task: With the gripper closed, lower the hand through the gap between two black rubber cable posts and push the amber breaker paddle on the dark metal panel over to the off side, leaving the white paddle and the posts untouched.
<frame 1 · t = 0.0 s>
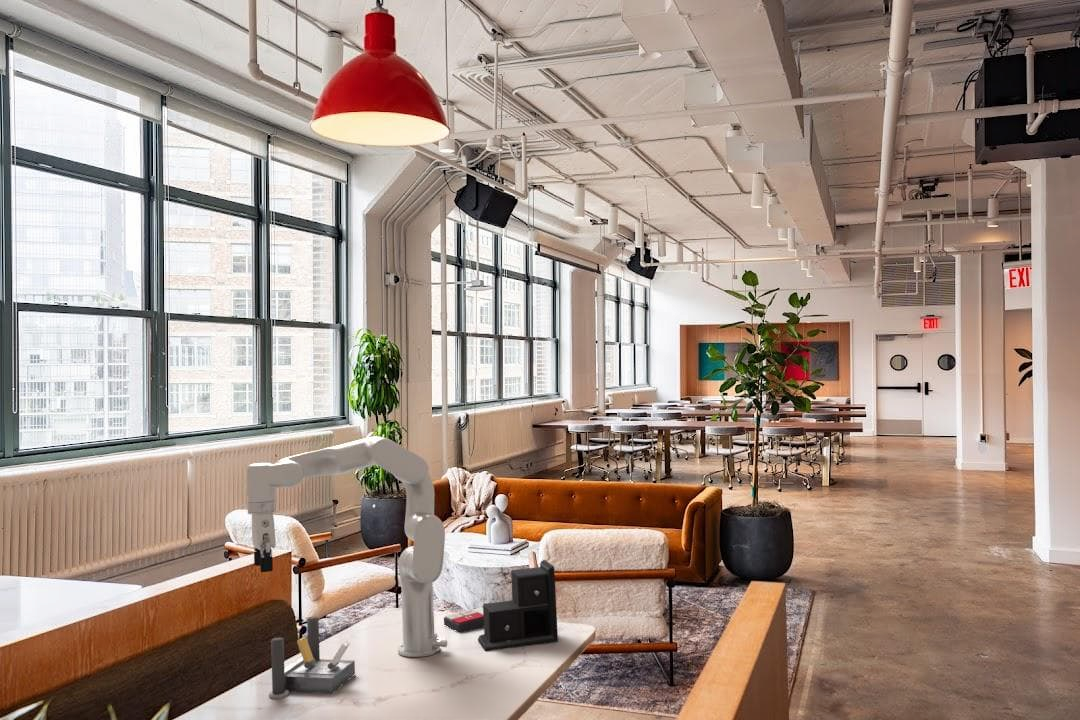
hand: (263, 568, 238), 31 cm above the table, tool pointing down, fingers open, 9 cm apart
paddle amber: (306, 652, 235), point 8 cm above the table, hinge at 20.0°
breaker panel: (317, 682, 234), on the table
black drawer organizer: (517, 642, 265), on the table
post far: (314, 669, 245), on the table
post near: (278, 695, 226), on the table
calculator: (471, 626, 285), on the table
paddle white: (339, 654, 233), point 8 cm above the table, hinge at -35.0°
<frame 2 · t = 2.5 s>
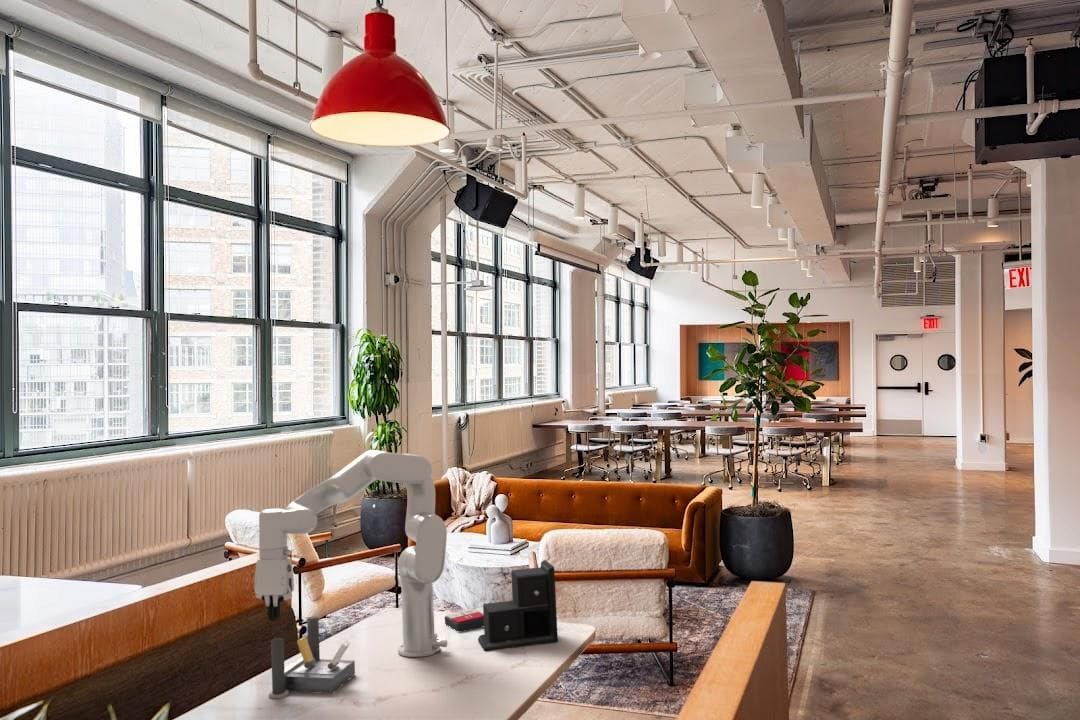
hand: (273, 619, 237), 17 cm above the table, tool pointing down, fingers closed
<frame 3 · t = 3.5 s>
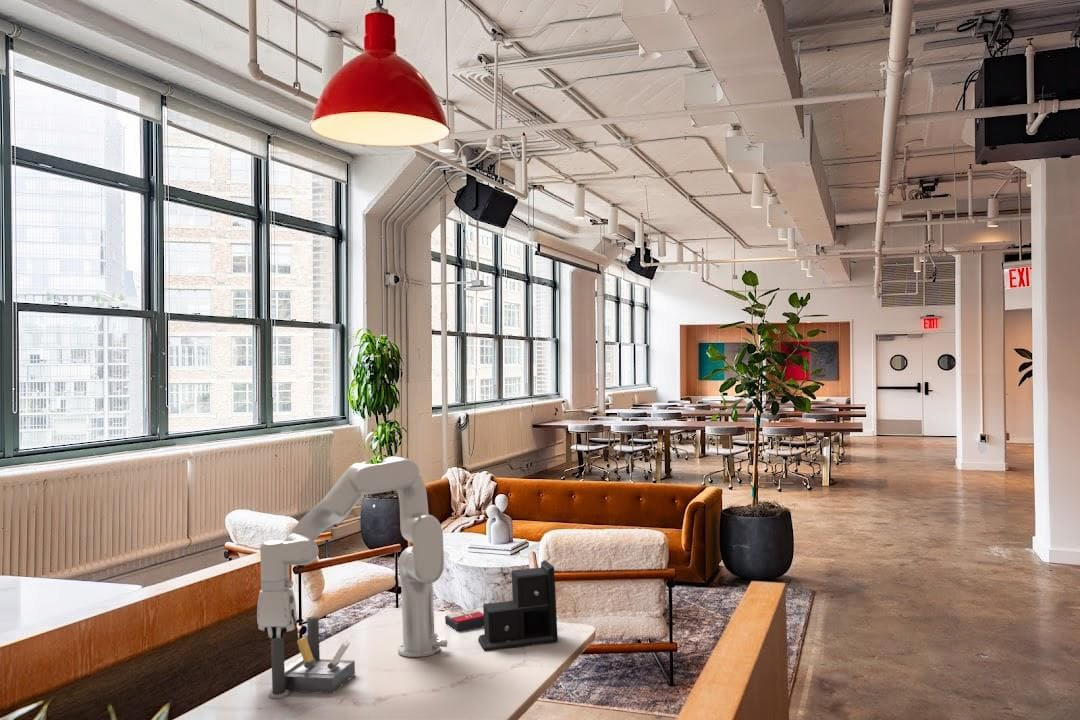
hand: (277, 650, 237), 8 cm above the table, tool pointing down, fingers closed
nothing on the table moved.
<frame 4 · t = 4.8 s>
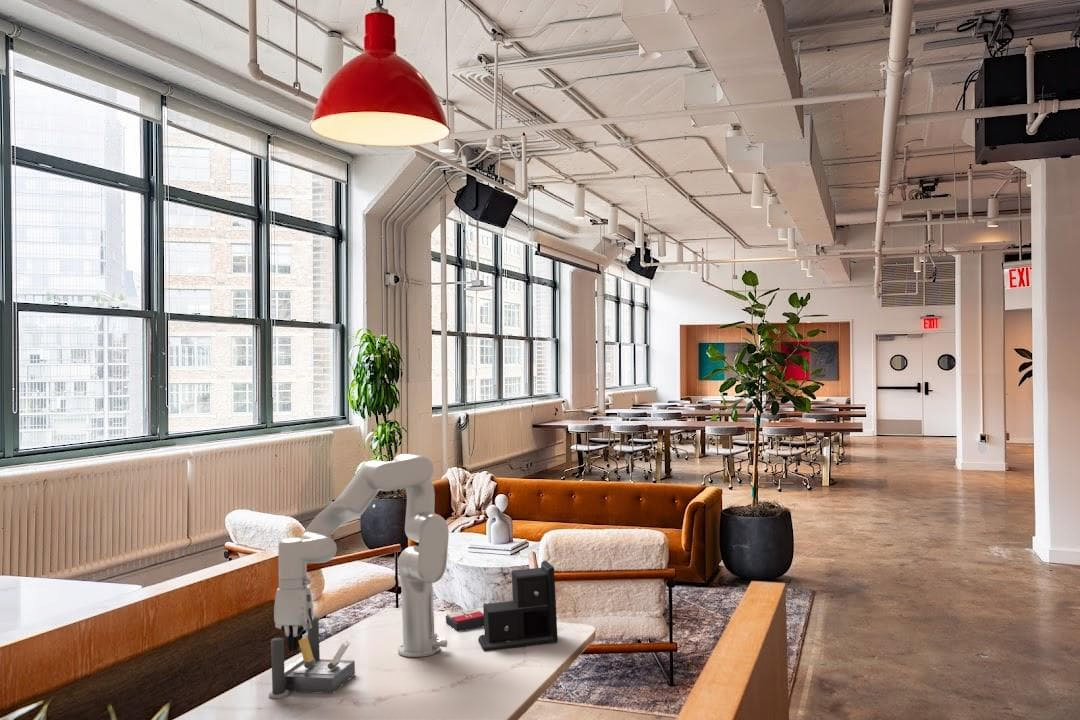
hand: (293, 649, 236), 9 cm above the table, tool pointing down, fingers closed
paddle amber: (306, 652, 235), point 8 cm above the table, hinge at 16.4°, touching gripper
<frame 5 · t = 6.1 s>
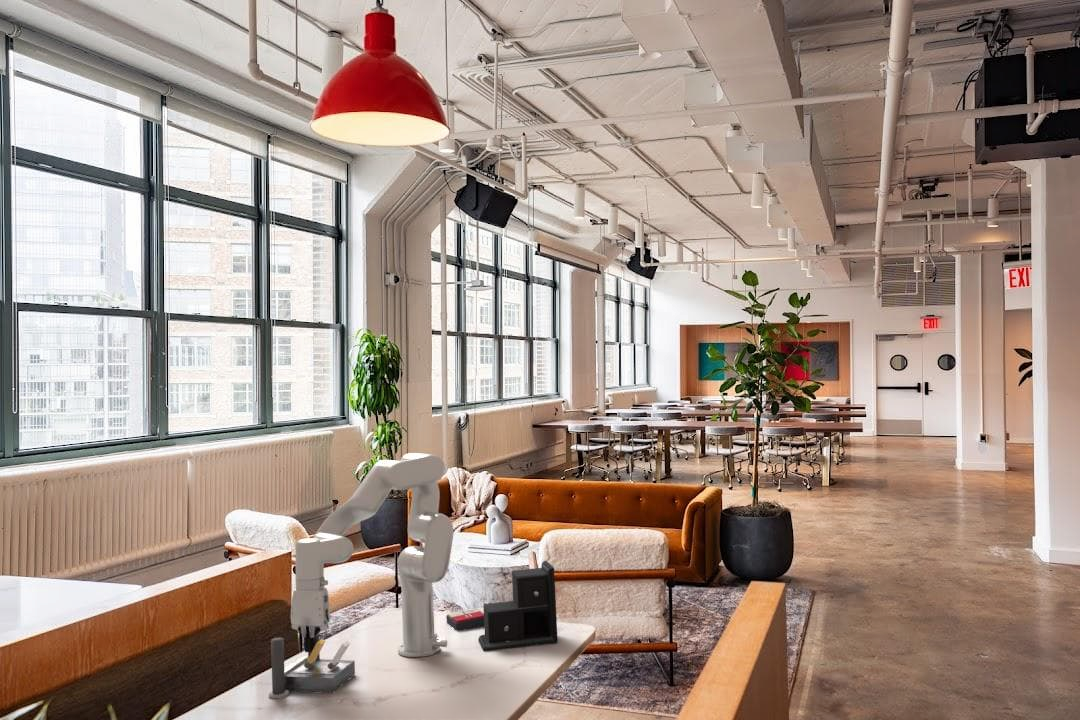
hand: (310, 650, 234), 9 cm above the table, tool pointing down, fingers closed
paddle amber: (315, 653, 235), point 8 cm above the table, hinge at -30.7°, touching gripper
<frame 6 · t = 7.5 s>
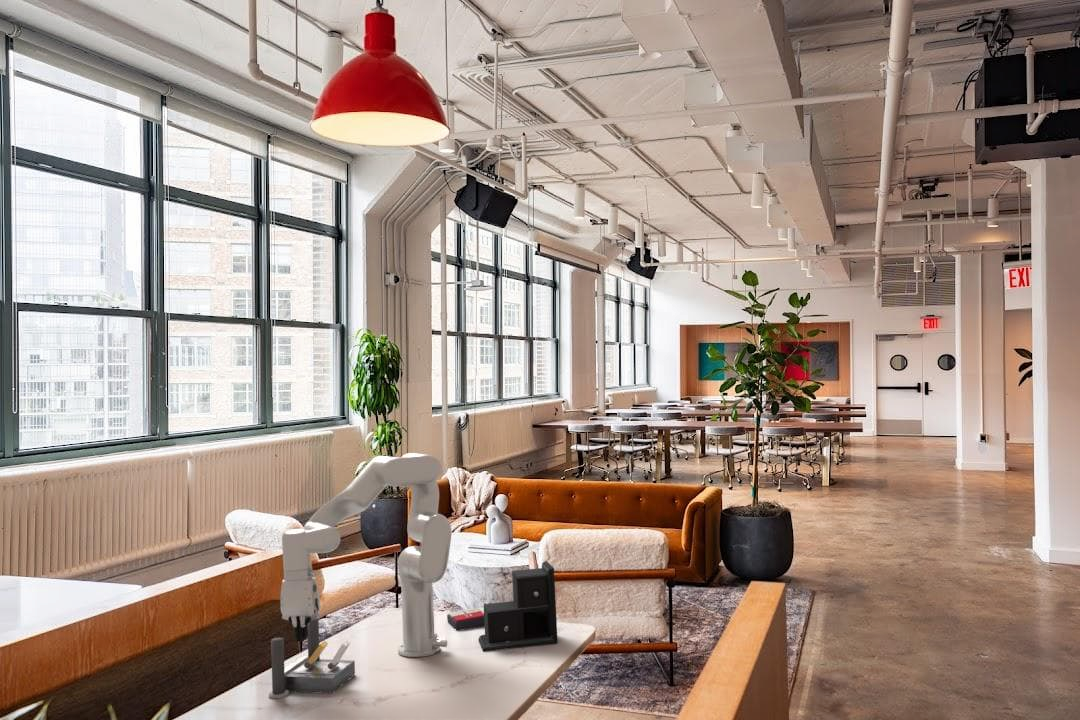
hand: (301, 640, 236), 11 cm above the table, tool pointing down, fingers closed
paddle amber: (316, 654, 235), point 8 cm above the table, hinge at -39.2°
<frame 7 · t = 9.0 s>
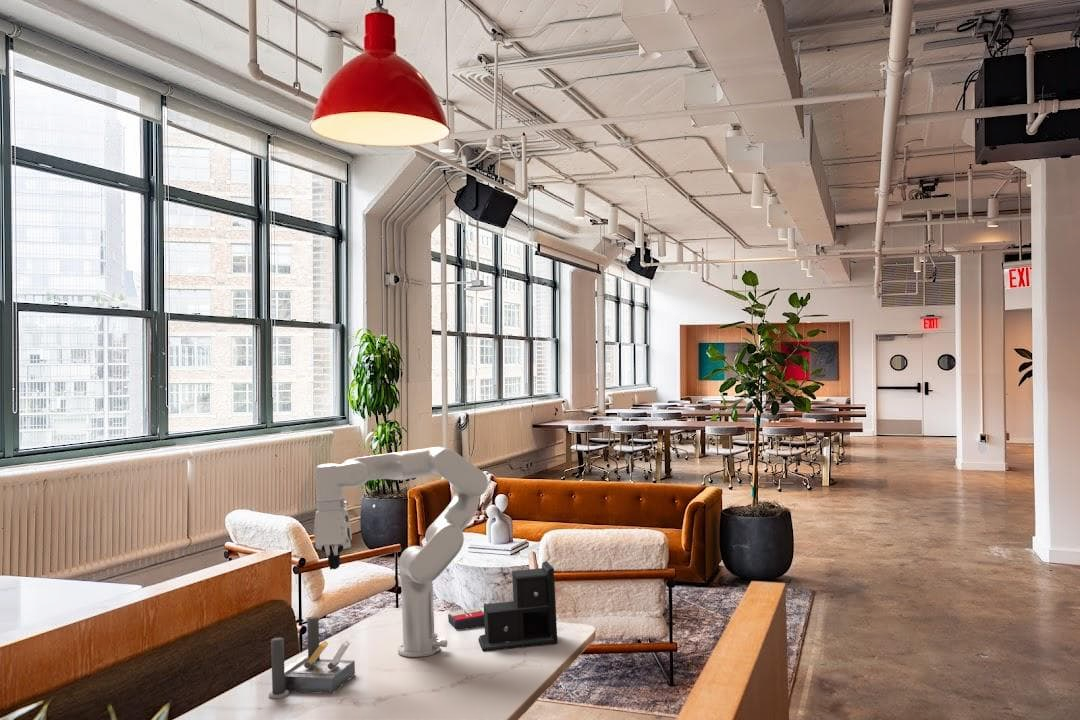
hand: (334, 568, 250), 28 cm above the table, tool pointing down, fingers closed
paddle amber: (316, 654, 235), point 8 cm above the table, hinge at -39.6°
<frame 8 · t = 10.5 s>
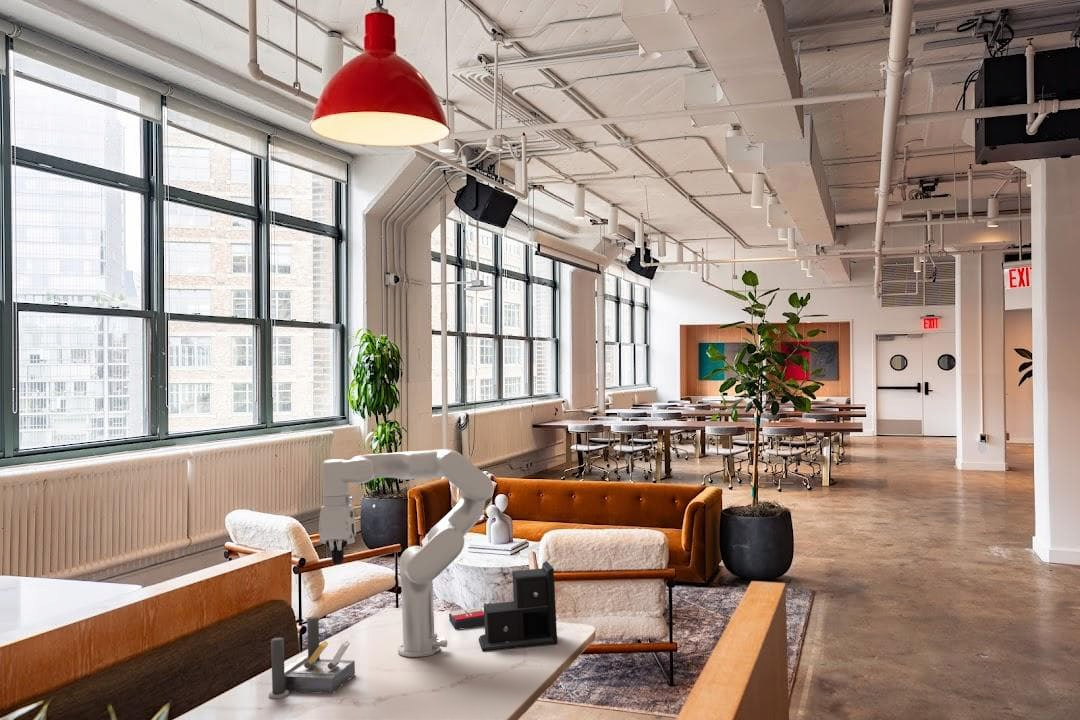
hand: (338, 563, 252), 29 cm above the table, tool pointing down, fingers closed
at the end: paddle amber at -40° (first picture: +20°); paddle white at -35° (first picture: -35°); post near moved 0.0 cm from its start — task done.
